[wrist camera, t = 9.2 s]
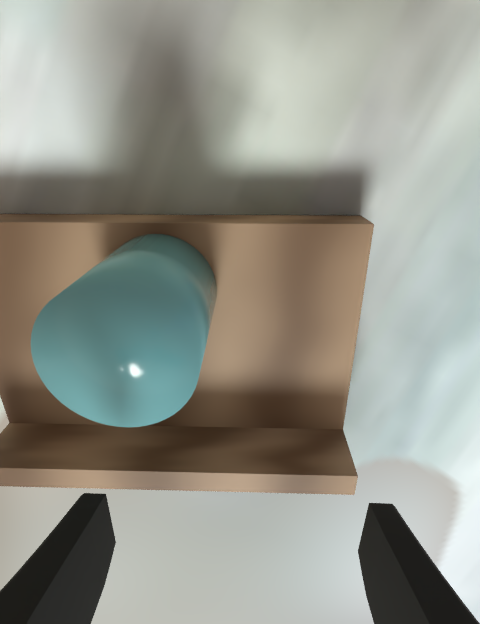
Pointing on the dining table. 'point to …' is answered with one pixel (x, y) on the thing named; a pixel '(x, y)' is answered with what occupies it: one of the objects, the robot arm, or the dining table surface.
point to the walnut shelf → (216, 362)
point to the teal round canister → (129, 333)
